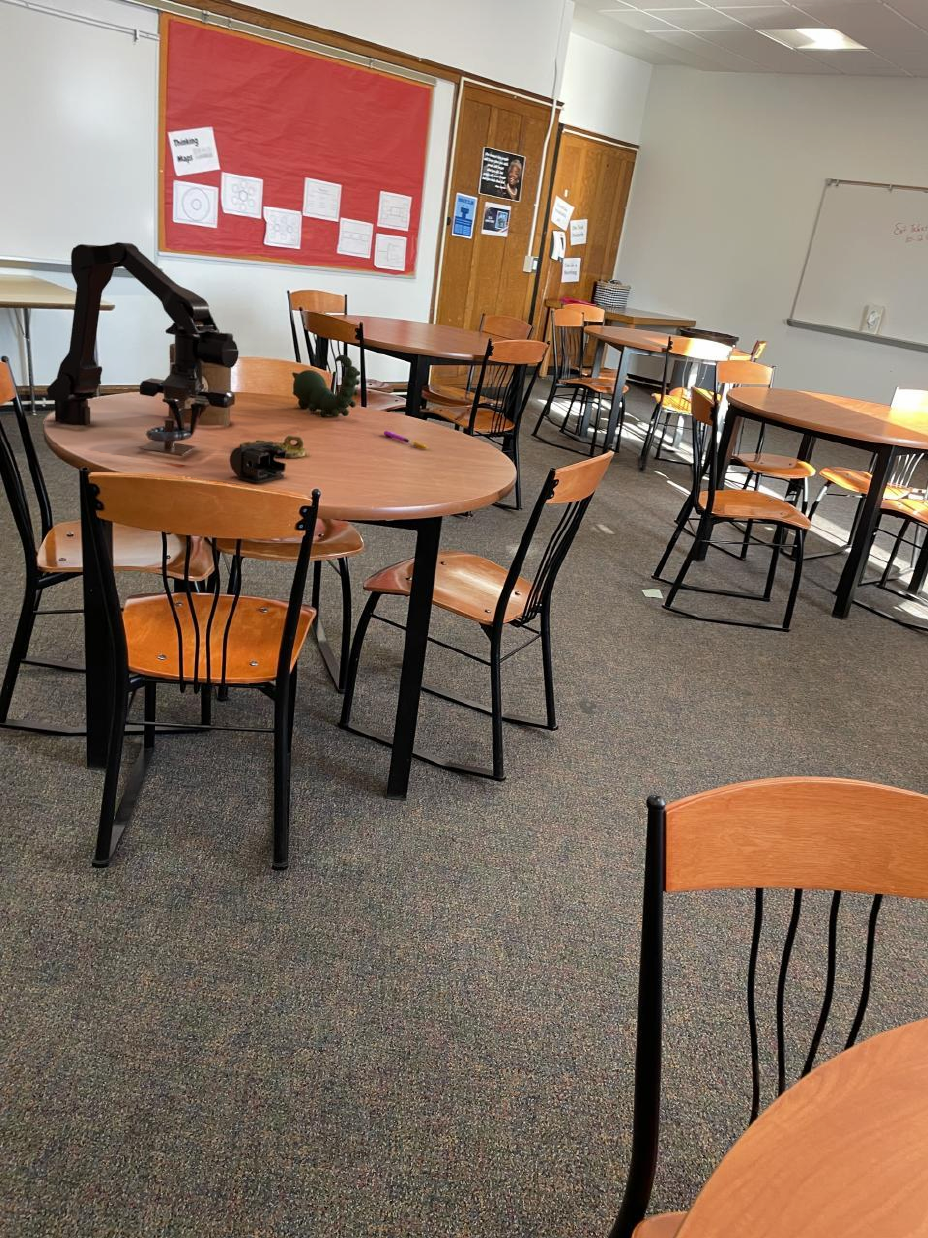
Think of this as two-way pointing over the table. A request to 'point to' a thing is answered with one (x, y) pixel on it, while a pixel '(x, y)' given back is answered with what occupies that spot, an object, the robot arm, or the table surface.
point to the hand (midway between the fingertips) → (186, 433)
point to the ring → (168, 434)
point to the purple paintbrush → (404, 439)
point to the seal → (285, 446)
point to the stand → (169, 443)
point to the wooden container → (212, 380)
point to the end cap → (258, 462)
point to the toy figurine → (326, 390)
